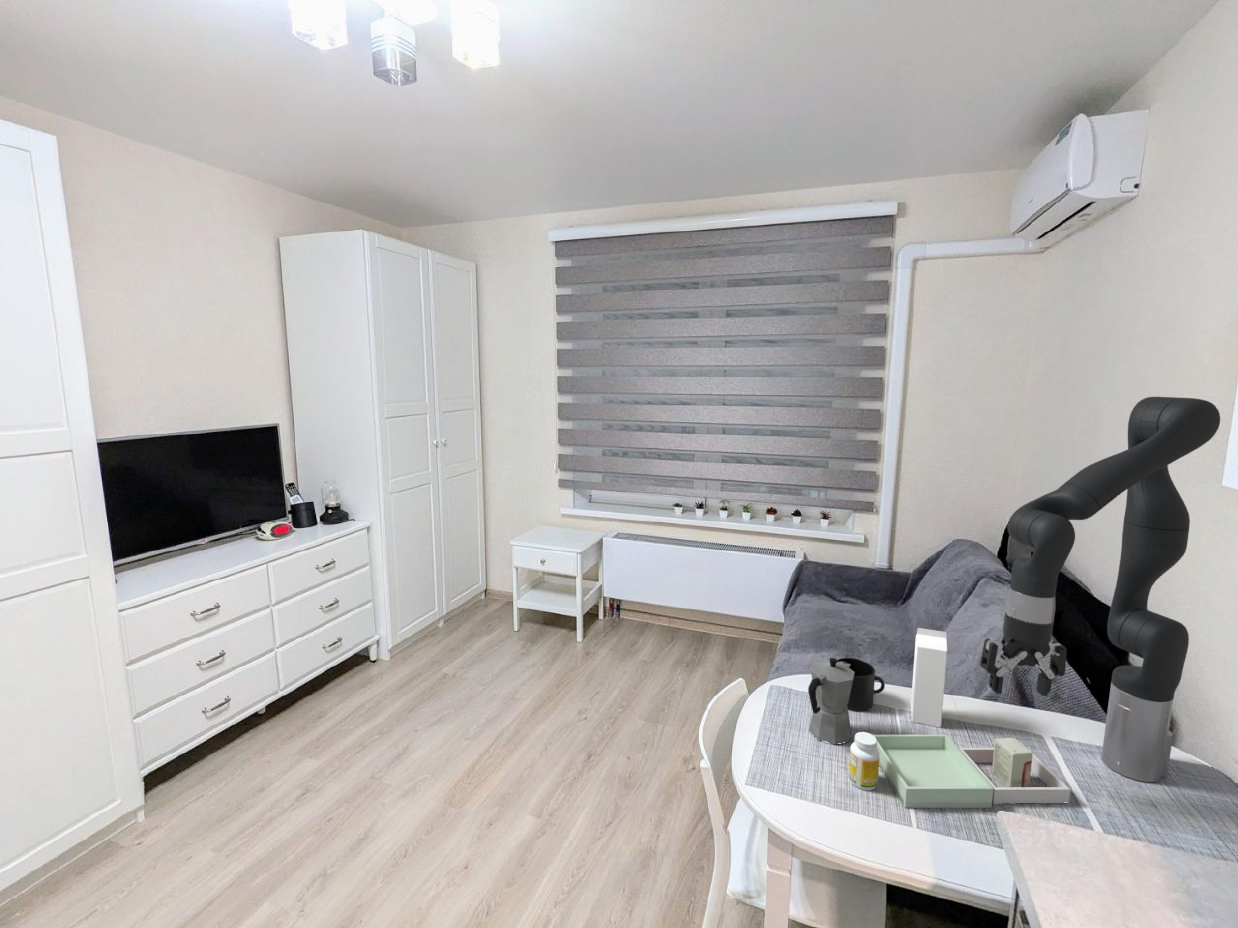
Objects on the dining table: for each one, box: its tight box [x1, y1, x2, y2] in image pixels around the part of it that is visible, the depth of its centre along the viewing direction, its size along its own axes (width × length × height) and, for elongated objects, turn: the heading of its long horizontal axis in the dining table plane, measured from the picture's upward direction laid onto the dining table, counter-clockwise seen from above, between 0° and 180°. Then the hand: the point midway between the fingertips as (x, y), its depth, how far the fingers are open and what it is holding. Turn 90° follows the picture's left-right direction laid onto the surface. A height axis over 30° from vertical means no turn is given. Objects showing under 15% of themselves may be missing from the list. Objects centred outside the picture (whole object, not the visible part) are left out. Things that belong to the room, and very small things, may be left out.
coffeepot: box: [807, 657, 855, 745], centre depth 127 cm, size 15×9×18 cm, turn 129°
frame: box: [957, 747, 1071, 805], centre depth 113 cm, size 14×12×3 cm
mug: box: [836, 657, 886, 712], centre depth 140 cm, size 9×12×9 cm
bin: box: [872, 734, 993, 809], centre depth 114 cm, size 16×16×4 cm
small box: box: [991, 737, 1034, 787], centre depth 113 cm, size 5×4×8 cm
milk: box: [910, 627, 948, 729], centre depth 132 cm, size 6×6×22 cm
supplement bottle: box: [848, 731, 880, 791], centre depth 113 cm, size 5×5×10 cm
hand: (1018, 692), depth 110 cm, fingers open, 8 cm apart
